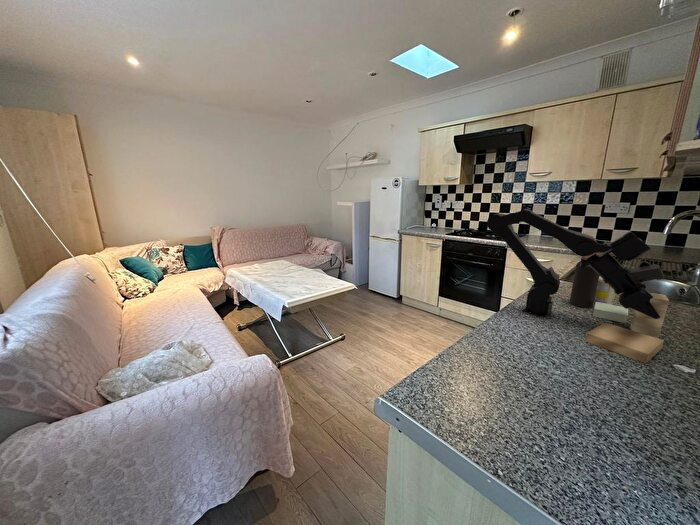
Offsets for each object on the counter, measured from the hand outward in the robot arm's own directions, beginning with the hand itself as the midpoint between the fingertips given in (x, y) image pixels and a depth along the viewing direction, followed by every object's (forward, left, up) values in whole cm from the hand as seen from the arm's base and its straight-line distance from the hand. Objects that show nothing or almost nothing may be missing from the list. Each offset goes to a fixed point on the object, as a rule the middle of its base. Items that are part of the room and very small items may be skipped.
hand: (656, 314), depth 76 cm
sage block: (-11, +7, -7) cm, 15 cm away
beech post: (-1, -1, -7) cm, 7 cm away
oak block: (-2, -13, -7) cm, 15 cm away
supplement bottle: (-17, +18, -7) cm, 26 cm away
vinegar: (-20, +10, -7) cm, 24 cm away
